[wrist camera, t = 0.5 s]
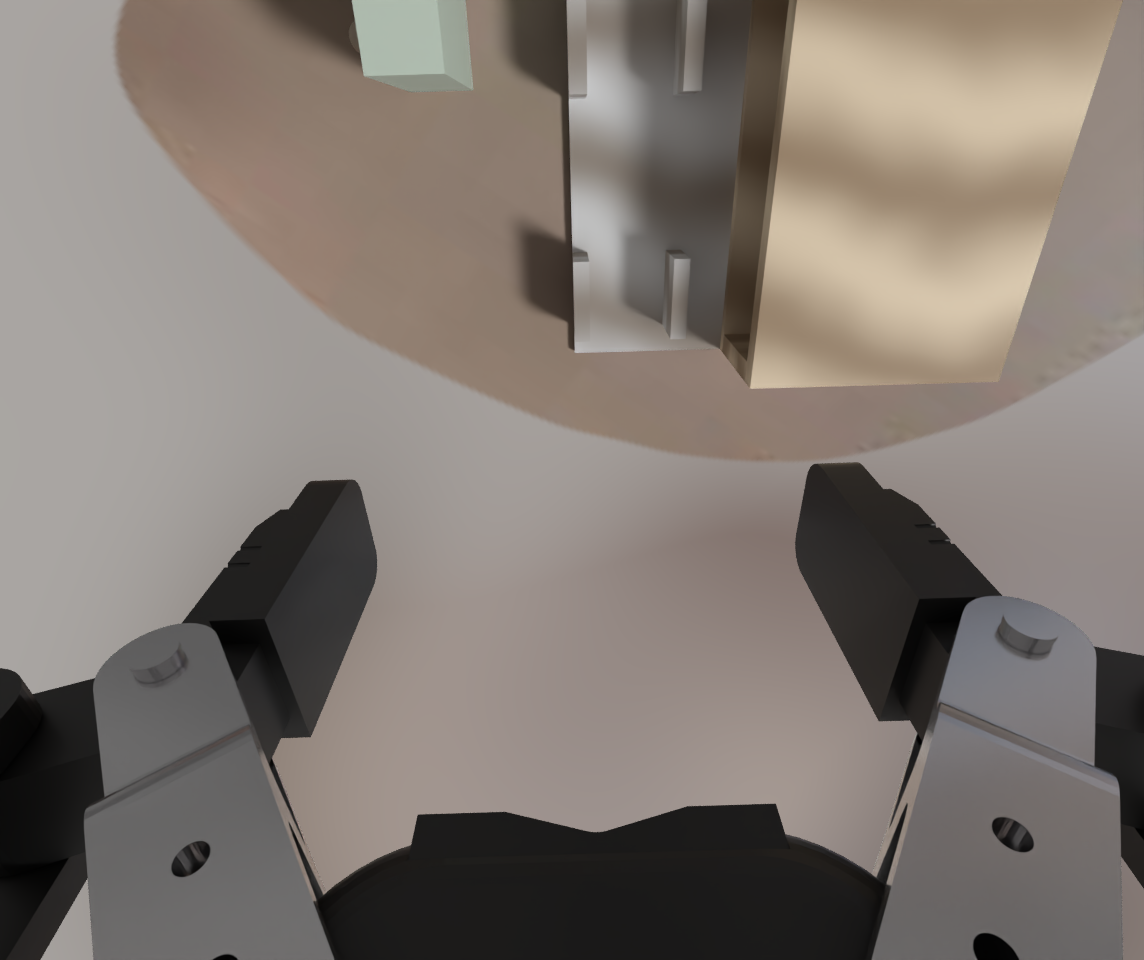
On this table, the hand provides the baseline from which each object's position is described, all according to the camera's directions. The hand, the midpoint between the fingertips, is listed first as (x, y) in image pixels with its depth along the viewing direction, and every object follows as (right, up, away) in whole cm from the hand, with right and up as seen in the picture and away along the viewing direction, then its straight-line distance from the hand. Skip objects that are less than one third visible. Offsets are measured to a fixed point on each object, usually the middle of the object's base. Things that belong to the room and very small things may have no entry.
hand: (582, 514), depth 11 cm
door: (-7, +25, +16) cm, 30 cm away
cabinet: (+10, +16, +20) cm, 28 cm away
